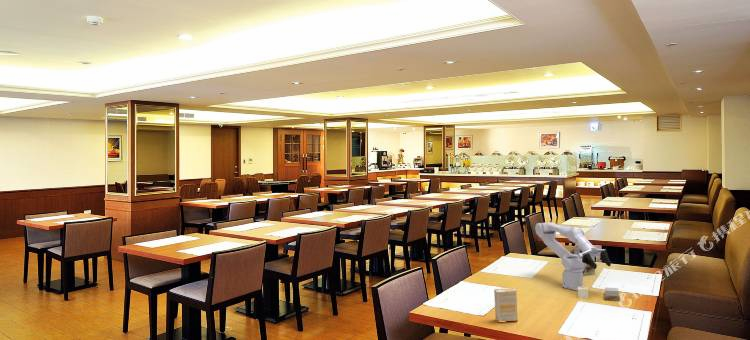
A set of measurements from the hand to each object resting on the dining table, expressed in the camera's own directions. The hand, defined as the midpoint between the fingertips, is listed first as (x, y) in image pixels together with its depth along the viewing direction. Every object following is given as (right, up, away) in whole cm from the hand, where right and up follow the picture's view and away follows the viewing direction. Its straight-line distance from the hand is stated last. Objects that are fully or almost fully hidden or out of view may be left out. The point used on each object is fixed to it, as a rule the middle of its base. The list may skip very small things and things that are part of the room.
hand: (603, 266), depth 231 cm
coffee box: (+12, -14, +48) cm, 52 cm away
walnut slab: (+4, -16, -1) cm, 16 cm away
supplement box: (-53, -18, -26) cm, 61 cm away
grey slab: (+4, -13, -1) cm, 14 cm away
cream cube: (-8, -16, +4) cm, 18 cm away
